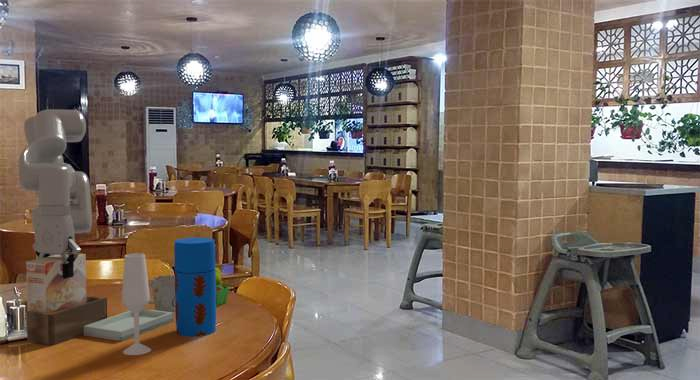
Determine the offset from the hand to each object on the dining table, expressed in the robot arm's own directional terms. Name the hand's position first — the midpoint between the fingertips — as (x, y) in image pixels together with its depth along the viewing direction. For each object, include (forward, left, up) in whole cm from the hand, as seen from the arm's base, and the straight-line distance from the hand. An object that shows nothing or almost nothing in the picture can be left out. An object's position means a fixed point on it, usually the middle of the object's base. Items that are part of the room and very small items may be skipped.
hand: (57, 275), depth 181 cm
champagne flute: (+31, -4, -16) cm, 35 cm away
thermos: (+34, +16, -16) cm, 40 cm away
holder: (+4, 0, -16) cm, 16 cm away
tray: (+15, +11, -16) cm, 24 cm away
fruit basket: (+19, +44, -16) cm, 50 cm away
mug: (+10, +30, -16) cm, 35 cm away
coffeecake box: (0, 0, -15) cm, 15 cm away
